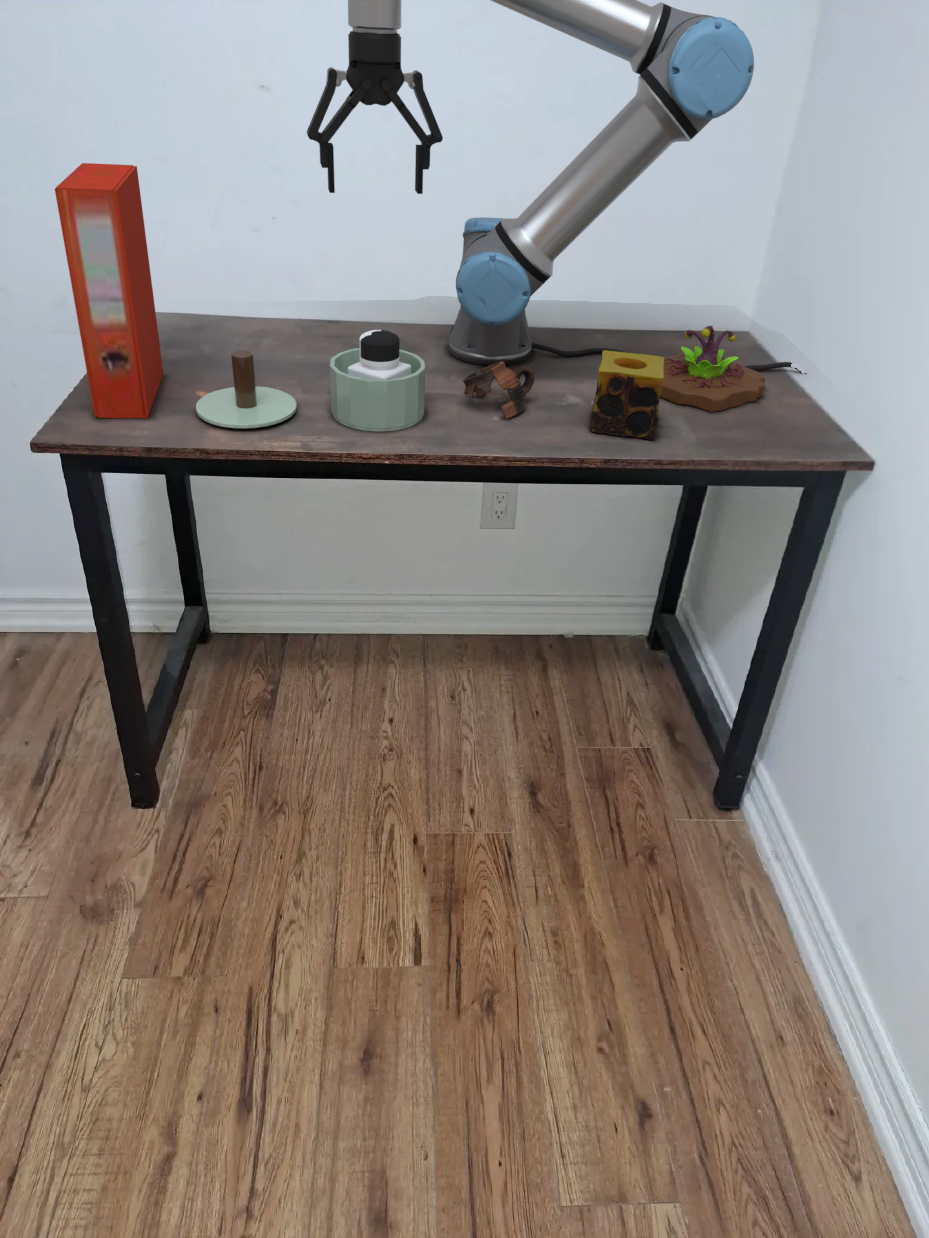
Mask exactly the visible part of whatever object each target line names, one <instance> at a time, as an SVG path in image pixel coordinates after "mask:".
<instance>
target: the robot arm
mask: <svg viewBox="0 0 929 1238" xmlns="http://www.w3.org/2000/svg"><path fill="white" fill-rule="evenodd" d="M489 1H491V2H493V3H495V4H497V5H499V6H502V7H504V8H506V9H508V10H511V11H514V12H515V13H518V14H520V15H522V16H524V17H527V18H529V19H532V20H534V21H536V22H538V23H541V24H543V25H545V26H548V27H549V28H551V29H554V30H556V31H558V32H561V33H563V34H565V35H568V36H570V37H572V38H574V39H577V40H579V41H581V42H583V43H586V44H588V45H590V46H592V47H595V48H597V49H599V50H601V51H604V52H606V53H609V54H611V55H613V56H615V57H617V58H620V59H622V60H624V61H626V62H628V63H629V65H630V67H631V70H632V72H633V73H635V74H637V75H639V76H637V85H636V86H637V87H636V93H635V96H633V98H631V99H630V101H629V102H628V103H626V105H625V106H624V107H622V109H621V110H620V111H619V112H618V113H616V115H615V116H614V117H613V118H612V119H611V121H609V122H608V123H607V124H606V125H605V126H604V127H603V128H602V129H601V131H600V132H598V134H597V135H595V137H594V138H593V139H592V140H591V141H589V143H588V144H587V145H586V146H585V147H584V148H583V149H582V150H581V151H580V152H579V153H578V155H577V156H576V157H575V158H574V159H572V161H571V162H570V163H569V164H568V165H567V166H566V167H565V168H563V170H562V171H561V172H560V173H559V174H558V175H557V176H556V177H555V178H554V179H553V180H552V181H551V182H550V183H549V185H548V186H546V188H545V189H544V190H543V191H541V192H540V194H539V195H538V196H537V197H536V198H535V199H534V200H533V201H532V202H530V205H528V206H527V207H526V208H525V209H524V210H523V212H522V213H521V214H520V215H519V216H518V217H515V218H512V217H511V218H509V217H508V218H505V217H504V218H503V217H471V218H468V219H467V220H465V222H464V227H463V228H464V229H463V232H462V238H463V242H462V243H463V245H462V257H461V261H460V265H459V270H458V271H457V275H456V278H455V291H456V295H457V300H458V302H459V305H460V306H459V310H458V313H457V316H456V319H455V321H454V324H453V325H452V327H451V330H450V332H449V333H450V334H449V337H448V352H449V353H450V355H452V356H453V357H455V358H457V359H458V360H461V361H463V362H466V363H470V364H474V365H481V366H490V365H492V364H495V363H497V362H501V361H502V362H504V363H505V366H511V365H517V364H521V363H523V362H525V361H527V360H528V359H530V358H531V357H532V350H533V349H536V350H541V351H545V352H549V353H551V354H555V355H558V356H562V357H579V356H585V355H591V354H602V352H603V351H604V350H607V351H615V352H626V353H629V352H628V351H623V350H620V349H614V348H608V347H593V348H586V349H585V348H584V349H580V350H563V349H562V350H561V349H558V348H555V347H552V346H549V345H544V344H541V343H536V342H533V341H532V337H531V333H530V329H529V325H528V319H527V315H526V308H527V307H528V304H529V303H530V300H531V297H532V296H533V295H534V294H535V292H537V291H538V290H539V289H540V288H542V286H543V285H544V284H545V283H546V282H547V281H548V280H549V279H550V278H551V277H552V276H553V273H554V262H555V260H556V259H557V258H558V257H559V256H560V255H561V254H562V253H563V252H564V251H565V250H566V249H567V248H568V247H569V246H570V245H571V244H572V243H573V242H574V241H575V240H576V239H577V238H578V237H579V236H580V235H581V234H582V233H583V232H584V231H585V230H586V229H587V228H589V226H590V225H591V224H592V223H593V222H595V220H596V219H598V218H599V216H601V214H602V213H604V212H605V210H606V209H607V208H608V207H609V206H611V205H612V204H613V203H614V202H615V201H616V200H617V199H618V198H619V197H620V196H621V195H622V194H623V193H624V192H625V191H626V190H627V189H628V188H629V187H630V185H632V184H633V183H634V182H635V181H636V180H637V179H638V178H639V177H640V176H641V175H642V174H643V173H644V172H645V171H646V170H647V169H648V168H650V166H651V165H652V164H653V163H654V162H656V161H657V159H658V158H659V157H661V156H662V155H663V154H664V152H665V151H666V150H668V148H669V147H670V146H671V145H673V144H674V143H677V142H690V141H692V140H693V139H694V138H695V137H696V136H697V135H698V134H699V133H700V132H701V131H702V130H703V129H704V128H705V127H706V126H707V125H708V124H709V123H710V122H711V121H713V120H714V119H717V118H719V117H722V116H723V115H726V114H727V113H728V112H730V111H732V110H733V109H734V108H735V107H736V106H737V105H738V104H739V103H740V102H741V101H742V100H743V98H744V97H745V95H746V93H747V92H748V90H749V87H750V85H751V83H752V80H753V75H754V71H755V57H754V51H753V47H752V44H751V42H750V40H749V38H748V37H747V35H746V33H745V32H744V30H742V29H741V28H740V27H739V25H737V23H735V22H734V21H732V20H730V19H727V18H725V17H720V16H713V15H709V14H702V13H695V12H689V11H686V10H682V9H678V8H676V7H673V6H670V5H668V4H666V3H664V2H661V1H660V2H658V3H656V4H654V5H649V4H646V3H644V2H642V1H640V0H489ZM347 26H349V27H351V28H352V30H350V31H349V33H348V34H347V38H348V45H347V46H348V66H347V69H346V70H340V69H335V68H334V67H332V66H330V67H328V68H327V71H326V81H325V83H326V84H325V86H324V89H323V90H322V93H321V96H320V98H319V100H318V104H317V105H316V108H315V110H314V113H313V115H312V118H311V120H310V122H309V125H308V127H307V129H306V135H307V138H308V139H309V140H310V141H314V142H317V144H318V145H319V146H318V147H319V164H320V166H321V168H322V169H327V189H328V192H329V194H335V192H336V191H335V190H336V189H335V188H336V187H335V186H336V185H335V158H334V155H335V154H334V151H335V150H334V144H333V143H332V142H330V141H331V139H333V137H334V136H335V134H337V132H338V130H339V129H340V127H342V125H343V123H344V122H345V121H346V120H347V118H348V117H349V116H350V115H351V113H352V112H353V111H354V109H355V108H357V106H358V105H359V103H361V104H363V105H364V106H373V105H379V106H383V107H386V106H388V105H390V104H391V103H392V104H393V106H394V107H395V108H396V109H397V111H398V113H399V114H400V115H401V117H402V118H403V119H404V121H405V122H406V123H407V125H408V127H409V128H410V129H411V131H412V132H413V133H414V135H415V136H416V138H417V139H418V140H419V142H420V144H415V164H414V165H415V169H414V170H415V171H414V173H415V174H414V175H415V176H414V191H415V192H416V193H417V194H418V195H423V192H424V190H423V189H424V170H430V167H431V148H432V146H433V145H435V144H438V143H439V144H440V143H441V142H443V139H444V137H443V133H442V131H441V129H440V127H439V125H438V122H437V119H436V117H435V114H434V112H433V110H432V107H431V105H430V102H429V100H428V97H427V94H426V92H425V89H424V79H423V74H422V72H420V71H418V70H417V69H415V70H413V71H411V72H403V69H402V36H401V34H400V33H398V30H400V29H401V28H402V0H347ZM343 81H346V82H347V84H348V85H349V88H351V91H350V93H348V95H347V97H346V99H345V100H344V101H343V103H342V104H341V106H340V107H339V109H338V110H337V111H336V112H335V114H334V115H333V117H332V118H331V119H330V120H329V122H328V123H327V124H326V126H325V127H324V128H323V130H322V131H321V132H320V128H321V126H322V123H323V121H324V118H325V116H326V115H327V111H328V109H329V107H330V104H331V102H332V99H333V98H334V95H335V92H336V88H339V87H340V86H342V82H343ZM404 83H407V86H408V88H409V89H410V90H412V91H413V93H414V96H415V98H416V101H417V103H418V105H419V108H420V110H421V112H422V115H423V118H424V120H425V122H426V125H427V127H428V130H429V134H427V133H426V132H425V131H424V129H423V128H422V126H421V125H420V124H419V122H418V121H417V119H416V118H415V116H414V115H413V114H412V112H411V111H410V109H409V108H408V107H407V105H406V104H405V103H404V101H403V99H402V98H401V96H400V95H399V94H398V92H399V91H400V89H401V88H402V87H403V85H404ZM791 362H792V361H783V362H782V361H779V362H773V363H767V364H753V365H743V366H744V367H746V368H749V369H752V370H755V371H767V370H774V369H779V368H781V369H782V368H791V369H793V368H792V367H791V364H792V363H791ZM794 370H797V372H799V374H802V373H801V372H800V371H799V370H798V369H797V368H794ZM802 375H803V374H802Z"/></svg>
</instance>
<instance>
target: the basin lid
mask: <svg viewBox="0 0 929 1238" xmlns="http://www.w3.org/2000/svg"><path fill="white" fill-rule="evenodd" d="M230 357H231V359H230V360H231V367H232V368H231V369H232V377H233V379H232V380H233V386H231V387H226V388H225V387H224V388H220V389H217V390H214V391H211V392H209V393H207V394H205V395H203V396H202V397H200V398H199V399H198V401H197V402H196V404H195V412H196V415H197V416H198V417H199V418H200V419H201V420H203V421H205V422H206V423H208V424H210V425H215V426H218V427H222V428H232V429H257V428H265V427H269V426H274V425H276V424H280V423H282V422H284V421H286V420H289V419H290V418H291V417H293V415H294V414H295V413H296V412H297V407H298V406H297V405H298V403H297V401H296V399H295V398H294V397H293V396H292V395H291V394H290V393H287V392H285V391H283V390H280V389H276V388H272V387H267V386H256V385H257V384H256V373H255V361H254V360H255V359H254V353H253V352H252V351H250V350H245V349H242V350H235V351H232V352H231V354H230Z"/></svg>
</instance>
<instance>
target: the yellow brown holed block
mask: <svg viewBox="0 0 929 1238" xmlns="http://www.w3.org/2000/svg"><path fill="white" fill-rule="evenodd" d="M626 352H627V351H624V352H615V351H607V350H604V351H603V352H602V353H601V359H600V364H599V366H598V372H597V383H596V390H595V398H594V401H593V405H592V412H591V416H590V426H589V430H590V432H592V433H596V434H603V435H611V436H616V437H617V436H618V437H628V438H629V437H630V438H631V437H633V438H638V439H644V440H648V441H654V440H655V439H656V438H655V437H656V432H657V425H658V420H659V408H660V407H659V406H660V399H661V390H662V385H663V378H664V370H663V367H664V357H665V356H660V355H652V354H645V353H644V354H643V353H634V352H628V353H626Z"/></svg>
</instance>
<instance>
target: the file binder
mask: <svg viewBox="0 0 929 1238" xmlns="http://www.w3.org/2000/svg"><path fill="white" fill-rule="evenodd" d="M139 179H140V178H139V171H138V166H137V165H133V164H116V163H93V162H92V163H91V162H81V164H79V165H78V166H77V167H76V168H75V169H73V171H72V172H70V174H68V176H66V177H65V178H64V179H63V180H62V181H61V182H60V183H59V184H57V186H56V187H55V188H54V193H55V194H54V195H55V199H56V205H57V211H58V216H59V222H60V227H61V234H62V239H63V244H64V250H65V251H64V252H65V256H66V262H67V266H68V267H67V268H68V273H69V279H70V285H71V290H72V295H73V301H74V307H75V311H76V312H75V313H76V319H77V324H78V330H79V336H80V341H81V346H82V352H83V353H82V354H83V357H84V363H85V370H86V373H87V380H88V381H87V382H88V387H89V392H90V398H91V404H92V409H93V414H94V417H96V418H98V419H149V416H150V414H151V410H152V407H153V405H154V403H155V399H156V396H157V394H158V390H159V387H160V385H161V383H162V380H163V377H164V368H163V359H162V351H161V346H160V345H161V344H160V336H159V329H158V321H157V314H156V307H155V305H156V304H155V297H154V291H153V282H152V275H151V267H150V259H149V251H148V243H147V235H146V227H145V219H144V212H143V211H144V210H143V204H142V203H143V202H142V197H141V196H142V195H141V188H140V187H141V186H140V180H139Z"/></svg>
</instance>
